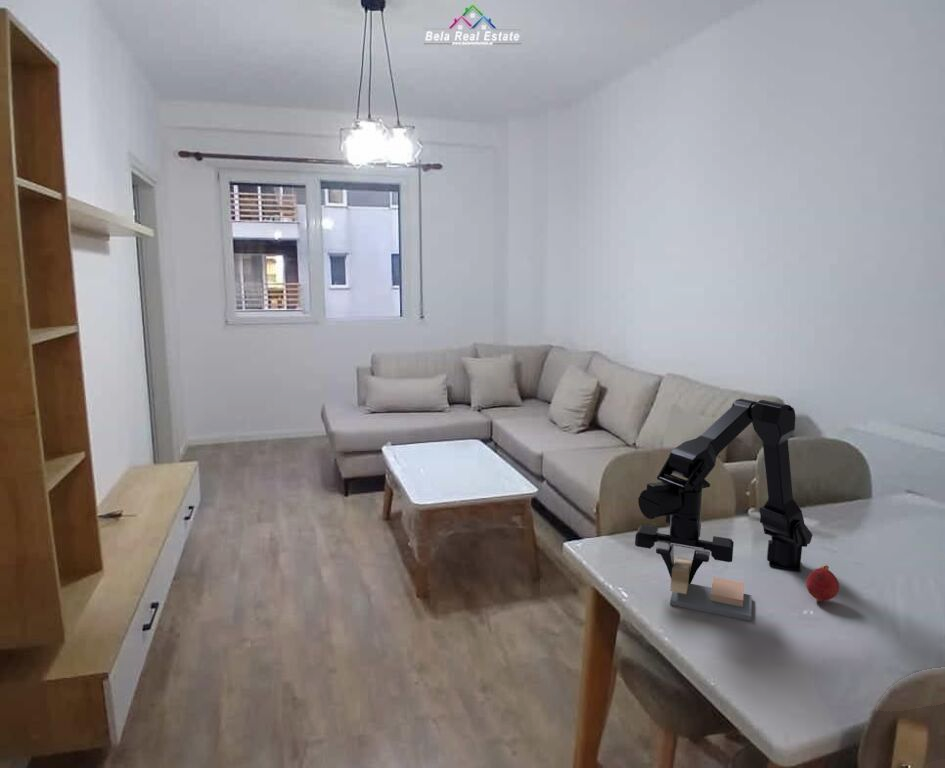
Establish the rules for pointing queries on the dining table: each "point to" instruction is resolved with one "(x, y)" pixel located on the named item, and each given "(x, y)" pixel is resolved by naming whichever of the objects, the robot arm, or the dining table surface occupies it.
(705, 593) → the mat
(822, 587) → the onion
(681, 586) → the curved wooden plank
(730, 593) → the tile
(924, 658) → the dining table surface
